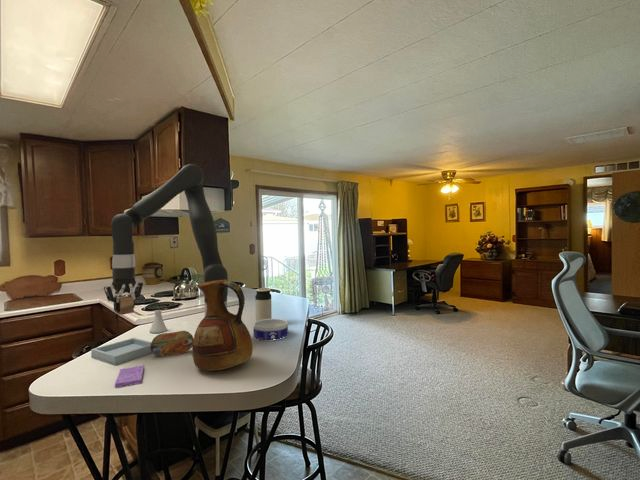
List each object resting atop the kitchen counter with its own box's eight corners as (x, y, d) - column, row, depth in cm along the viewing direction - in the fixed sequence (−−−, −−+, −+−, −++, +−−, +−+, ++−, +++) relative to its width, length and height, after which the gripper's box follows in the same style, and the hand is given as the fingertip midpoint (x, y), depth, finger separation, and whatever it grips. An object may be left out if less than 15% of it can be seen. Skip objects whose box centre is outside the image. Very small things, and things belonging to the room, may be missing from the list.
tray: (157, 351, 127) (157, 343, 127) (114, 365, 113) (114, 356, 113) (133, 344, 135) (133, 337, 135) (91, 357, 121) (91, 349, 121)
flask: (146, 332, 153) (146, 311, 152) (159, 328, 159) (158, 308, 159) (157, 334, 150) (157, 312, 150) (170, 330, 157) (169, 309, 156)
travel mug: (274, 323, 166) (274, 288, 166) (264, 327, 159) (263, 290, 159) (263, 321, 170) (262, 287, 170) (252, 325, 163) (251, 289, 163)
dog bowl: (284, 329, 156) (284, 317, 155) (291, 339, 141) (291, 325, 141) (252, 333, 151) (251, 320, 151) (255, 343, 136) (255, 328, 136)
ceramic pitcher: (205, 355, 122) (204, 276, 122) (258, 355, 122) (257, 275, 121) (181, 377, 103) (180, 283, 102) (244, 377, 102) (243, 282, 102)
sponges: (114, 389, 96) (114, 383, 96) (120, 373, 107) (120, 368, 107) (141, 384, 99) (141, 378, 99) (144, 369, 110) (144, 364, 110)
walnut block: (133, 312, 125) (133, 296, 125) (121, 314, 121) (121, 298, 121) (127, 311, 127) (126, 295, 127) (115, 313, 123) (114, 297, 123)
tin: (150, 358, 119) (150, 336, 119) (150, 356, 122) (150, 333, 122) (194, 351, 126) (193, 330, 126) (193, 349, 129) (192, 328, 129)
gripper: (109, 268, 116) (110, 315, 116) (147, 265, 128) (148, 308, 129) (98, 267, 120) (99, 313, 120) (136, 264, 132) (137, 306, 132)
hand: (124, 310), depth 124 cm, fingers closed on walnut block, 4 cm apart
